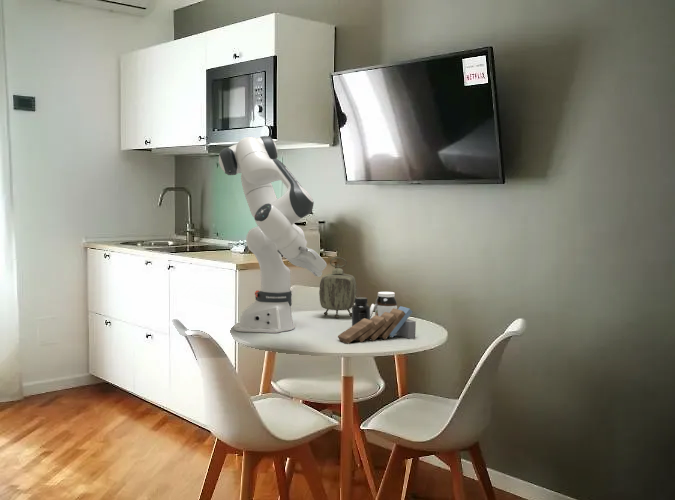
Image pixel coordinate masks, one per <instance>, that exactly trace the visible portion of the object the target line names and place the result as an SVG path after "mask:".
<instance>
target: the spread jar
mask: <svg viewBox="0 0 675 500" xmlns="http://www.w3.org/2000/svg"><path fill="white" fill-rule="evenodd" d="M395 295H396V293H395V292H393V291H378V292H377V297H376V299H375V302H374V303H375V304H374V303H371V305H370V306H369V307H370V319H371V318H372V317H373V316H372V315H373V313H374V316H375V315H377V316H381V315H382V314H383V313H384V312H388V313H390V312H391V310H392V309H393V308H395V309H398V302H397V299H396V297H395Z"/></svg>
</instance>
